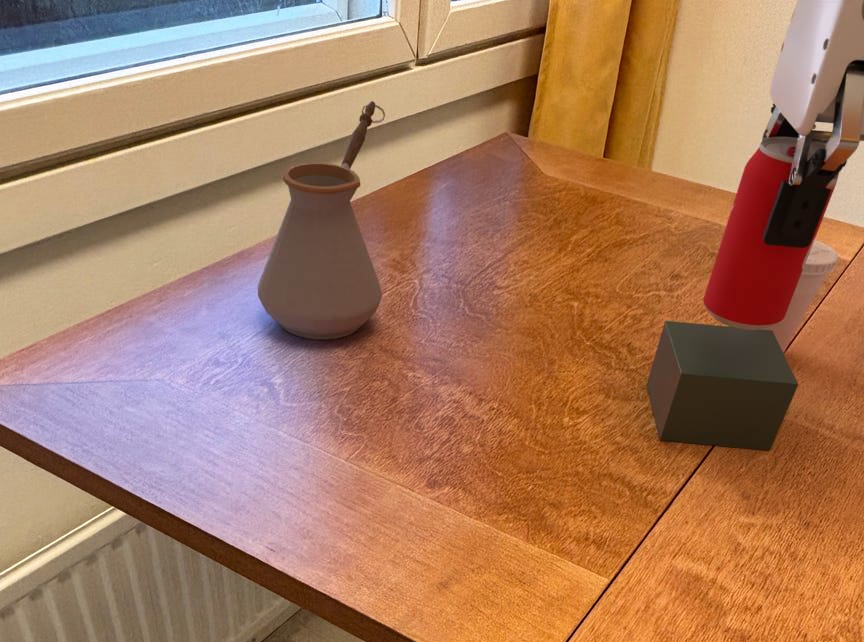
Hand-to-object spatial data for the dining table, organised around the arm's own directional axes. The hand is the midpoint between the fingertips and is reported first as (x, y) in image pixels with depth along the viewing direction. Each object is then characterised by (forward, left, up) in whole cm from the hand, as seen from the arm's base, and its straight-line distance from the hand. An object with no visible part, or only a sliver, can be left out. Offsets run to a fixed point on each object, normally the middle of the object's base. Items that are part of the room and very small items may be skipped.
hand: (774, 223), depth 64 cm
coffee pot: (+33, -16, -16) cm, 40 cm away
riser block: (0, 0, -16) cm, 16 cm away
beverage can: (0, 0, -7) cm, 7 cm away
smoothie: (-8, -13, -16) cm, 22 cm away
